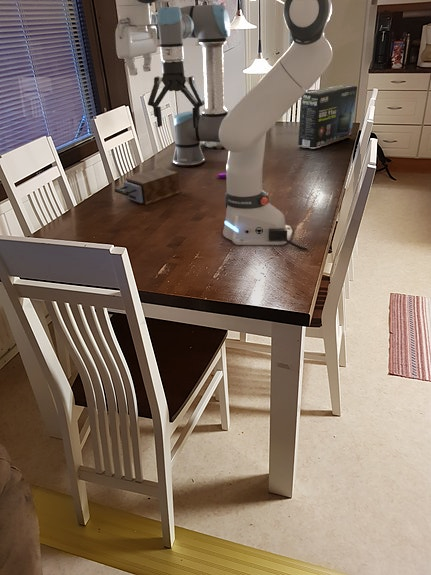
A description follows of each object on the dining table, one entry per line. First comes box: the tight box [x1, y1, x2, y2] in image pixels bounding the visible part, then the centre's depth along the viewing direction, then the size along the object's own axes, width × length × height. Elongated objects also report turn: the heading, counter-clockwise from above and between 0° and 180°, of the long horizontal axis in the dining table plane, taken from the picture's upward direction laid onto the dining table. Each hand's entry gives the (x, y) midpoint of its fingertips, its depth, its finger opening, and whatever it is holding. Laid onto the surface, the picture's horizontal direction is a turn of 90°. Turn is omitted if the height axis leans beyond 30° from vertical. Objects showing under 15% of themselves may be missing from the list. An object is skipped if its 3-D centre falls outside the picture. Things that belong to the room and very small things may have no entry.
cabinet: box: [125, 167, 181, 206], centre depth 182 cm, size 18×11×8 cm, turn 136°
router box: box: [297, 84, 358, 151], centre depth 238 cm, size 36×11×27 cm, turn 134°
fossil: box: [200, 141, 224, 150], centre depth 248 cm, size 18×11×15 cm
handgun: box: [217, 172, 226, 179], centre depth 193 cm, size 21×8×2 cm, turn 11°
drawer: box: [114, 180, 144, 204], centre depth 179 cm, size 22×10×6 cm, turn 136°
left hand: (177, 126), depth 164 cm, fingers open, 13 cm apart
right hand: (140, 73), depth 133 cm, fingers open, 8 cm apart
